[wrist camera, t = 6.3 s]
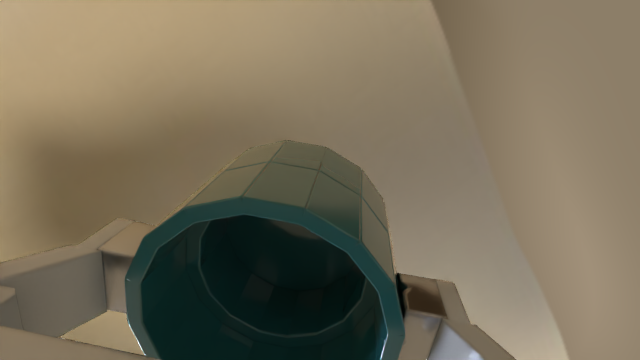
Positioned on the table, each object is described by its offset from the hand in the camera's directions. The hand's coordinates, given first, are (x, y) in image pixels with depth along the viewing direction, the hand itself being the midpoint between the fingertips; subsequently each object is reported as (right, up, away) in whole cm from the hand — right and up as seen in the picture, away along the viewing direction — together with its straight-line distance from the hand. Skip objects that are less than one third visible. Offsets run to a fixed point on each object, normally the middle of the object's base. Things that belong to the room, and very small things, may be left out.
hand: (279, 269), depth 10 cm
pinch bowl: (0, +1, +3) cm, 3 cm away
